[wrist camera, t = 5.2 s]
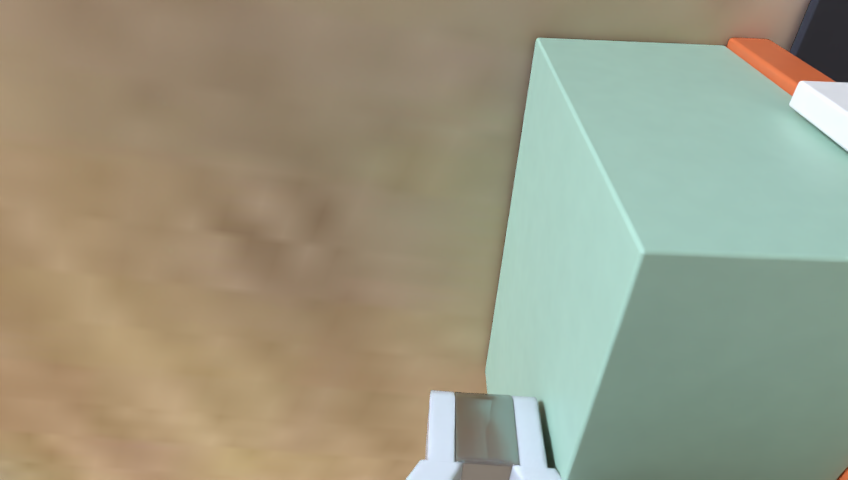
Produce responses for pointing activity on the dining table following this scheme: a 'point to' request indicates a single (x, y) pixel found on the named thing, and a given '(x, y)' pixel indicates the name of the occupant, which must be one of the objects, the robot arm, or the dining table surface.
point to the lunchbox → (679, 263)
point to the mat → (824, 38)
